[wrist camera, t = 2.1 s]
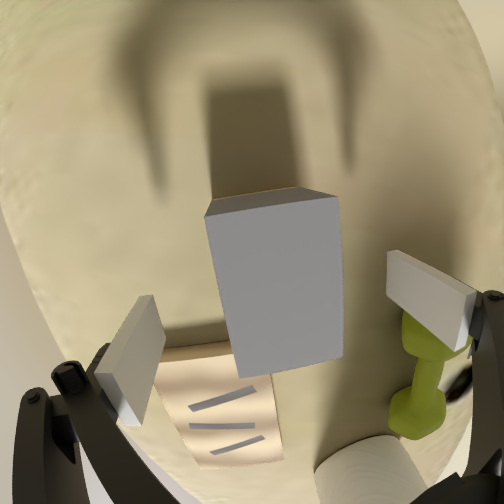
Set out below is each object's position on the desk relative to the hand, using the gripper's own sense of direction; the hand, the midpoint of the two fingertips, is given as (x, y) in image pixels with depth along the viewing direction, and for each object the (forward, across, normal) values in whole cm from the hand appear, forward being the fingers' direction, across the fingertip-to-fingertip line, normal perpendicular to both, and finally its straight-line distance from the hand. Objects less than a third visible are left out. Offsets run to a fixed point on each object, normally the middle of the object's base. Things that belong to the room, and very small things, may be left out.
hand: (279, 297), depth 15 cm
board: (+7, -6, -16) cm, 18 cm away
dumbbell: (+7, +15, -14) cm, 22 cm away
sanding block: (+7, 0, +1) cm, 7 cm away
